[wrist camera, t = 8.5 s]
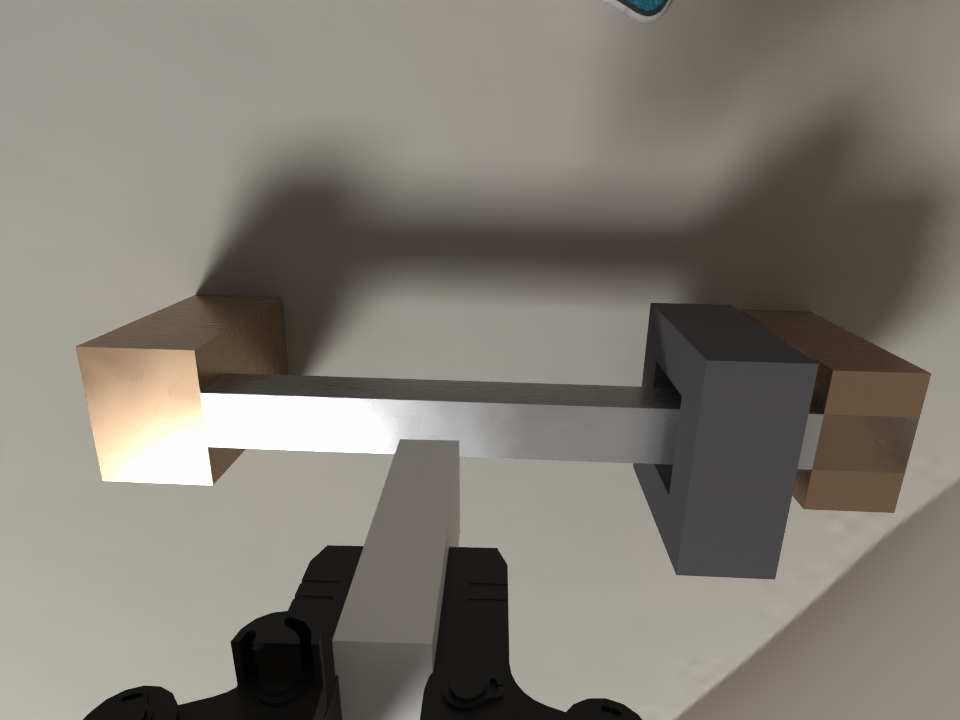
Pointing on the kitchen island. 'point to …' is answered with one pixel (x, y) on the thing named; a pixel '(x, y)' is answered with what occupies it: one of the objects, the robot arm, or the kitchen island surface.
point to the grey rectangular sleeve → (725, 438)
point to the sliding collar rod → (457, 406)
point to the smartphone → (641, 9)
